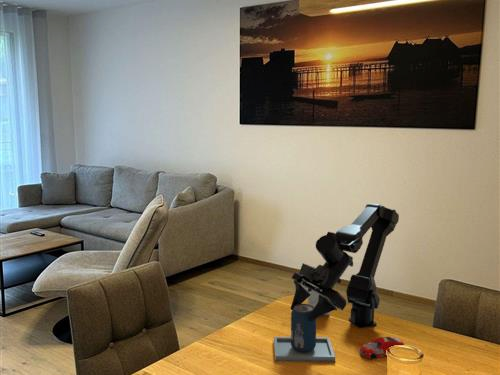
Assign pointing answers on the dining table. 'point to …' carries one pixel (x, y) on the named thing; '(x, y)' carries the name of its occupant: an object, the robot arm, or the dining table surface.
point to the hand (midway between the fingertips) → (300, 314)
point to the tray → (287, 353)
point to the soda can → (302, 329)
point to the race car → (378, 347)
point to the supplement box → (314, 299)
